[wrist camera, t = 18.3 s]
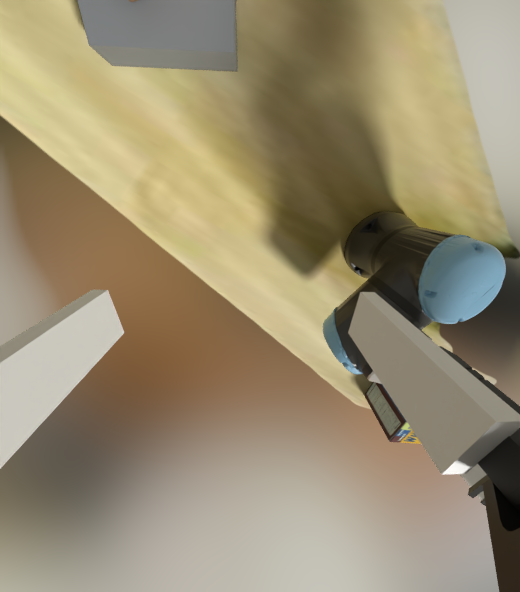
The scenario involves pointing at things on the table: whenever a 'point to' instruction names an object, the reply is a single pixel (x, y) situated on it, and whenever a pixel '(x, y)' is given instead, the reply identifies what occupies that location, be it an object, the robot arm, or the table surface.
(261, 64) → the table surface
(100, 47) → the base block
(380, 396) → the protein box
